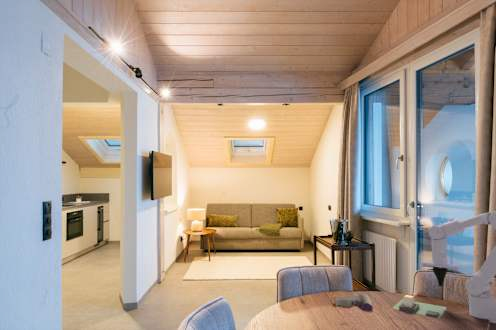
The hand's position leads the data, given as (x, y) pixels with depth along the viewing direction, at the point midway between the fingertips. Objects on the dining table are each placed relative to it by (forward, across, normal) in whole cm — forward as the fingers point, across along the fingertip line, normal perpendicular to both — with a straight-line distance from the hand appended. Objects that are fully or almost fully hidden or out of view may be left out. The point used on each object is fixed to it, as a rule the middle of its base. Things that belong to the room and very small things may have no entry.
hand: (441, 285), depth 148 cm
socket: (+8, -10, -13) cm, 18 cm away
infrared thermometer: (+10, -30, -23) cm, 39 cm away
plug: (+8, -10, -13) cm, 19 cm away
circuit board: (+9, -7, -9) cm, 15 cm away
